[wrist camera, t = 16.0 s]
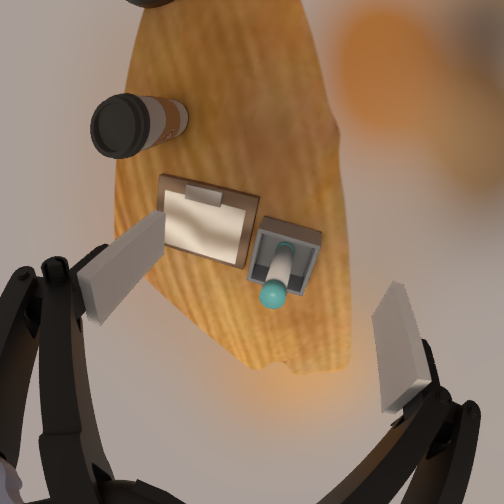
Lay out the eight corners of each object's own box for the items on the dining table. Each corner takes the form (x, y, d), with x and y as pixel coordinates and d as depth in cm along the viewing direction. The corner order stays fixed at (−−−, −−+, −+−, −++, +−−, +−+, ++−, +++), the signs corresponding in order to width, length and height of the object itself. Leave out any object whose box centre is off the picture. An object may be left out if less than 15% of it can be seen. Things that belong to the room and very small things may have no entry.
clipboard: (162, 173, 44) (156, 176, 43) (260, 196, 43) (257, 200, 41) (158, 239, 51) (153, 244, 49) (244, 266, 49) (241, 272, 48)
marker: (278, 239, 45) (262, 285, 34) (297, 244, 45) (287, 292, 33) (273, 256, 46) (256, 304, 35) (292, 261, 46) (281, 311, 35)
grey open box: (264, 215, 44) (258, 228, 40) (321, 232, 43) (320, 246, 39) (253, 264, 49) (246, 280, 44) (304, 279, 48) (302, 296, 43)
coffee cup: (167, 153, 43) (108, 175, 30) (142, 115, 40) (78, 125, 27) (205, 124, 39) (152, 133, 26) (177, 84, 37) (117, 79, 24)
